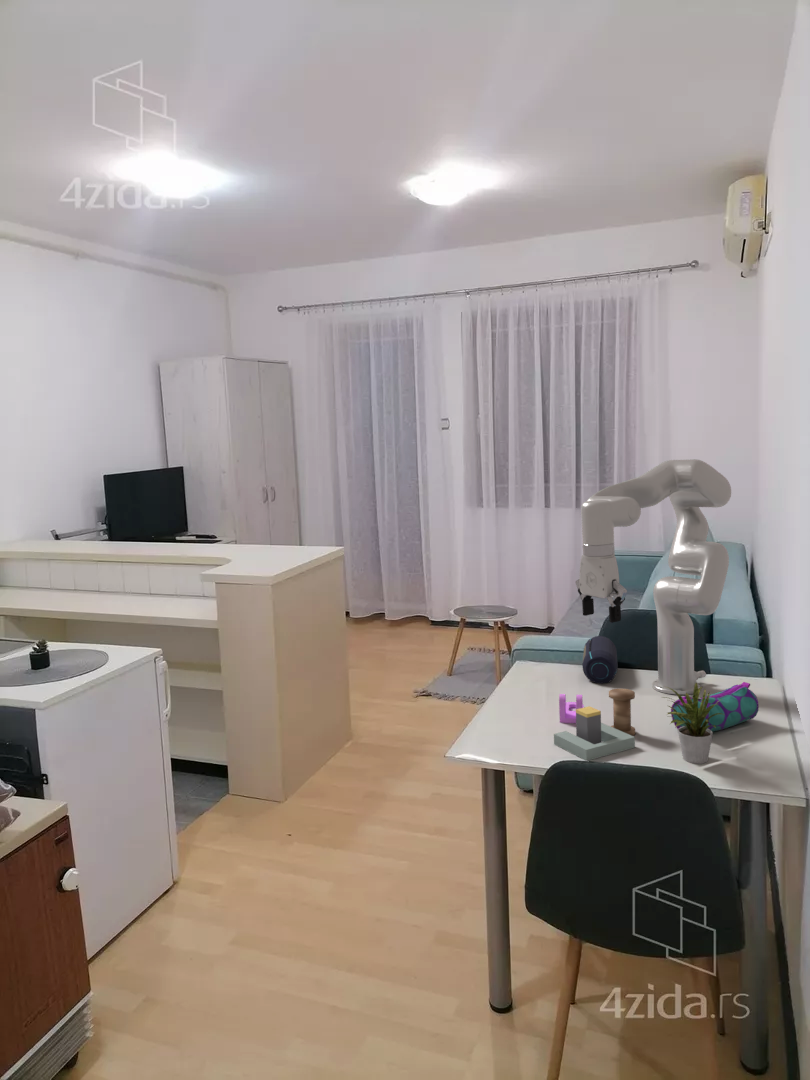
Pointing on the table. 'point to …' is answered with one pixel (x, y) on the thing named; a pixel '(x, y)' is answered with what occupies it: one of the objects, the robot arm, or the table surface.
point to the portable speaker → (600, 660)
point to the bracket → (564, 707)
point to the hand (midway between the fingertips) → (601, 618)
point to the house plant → (694, 727)
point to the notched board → (587, 751)
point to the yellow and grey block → (588, 724)
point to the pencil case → (725, 707)
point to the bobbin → (622, 710)
